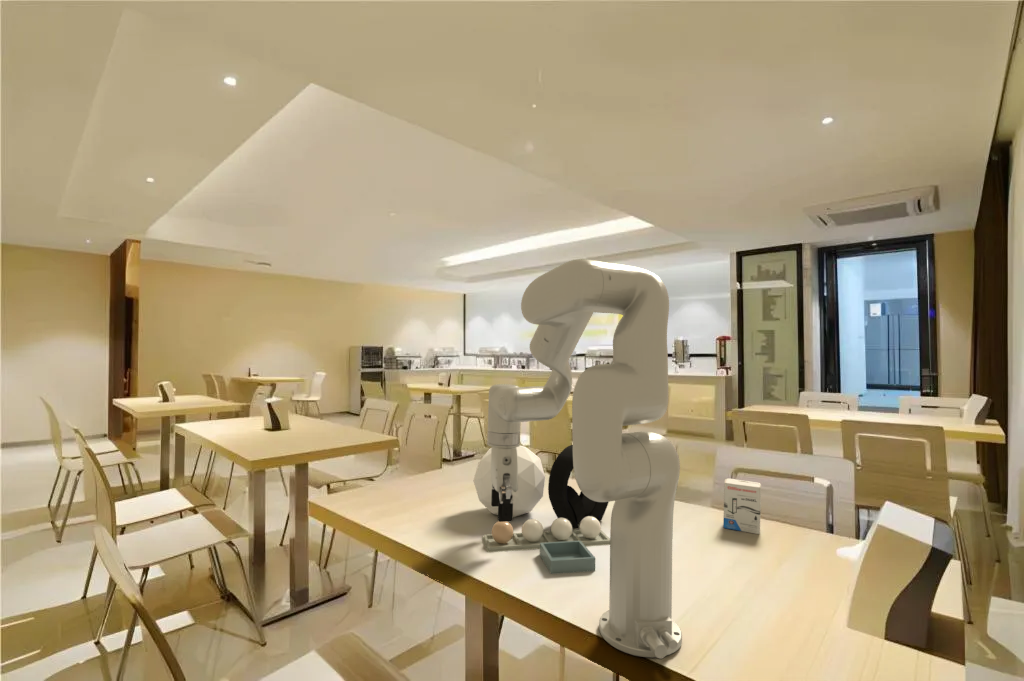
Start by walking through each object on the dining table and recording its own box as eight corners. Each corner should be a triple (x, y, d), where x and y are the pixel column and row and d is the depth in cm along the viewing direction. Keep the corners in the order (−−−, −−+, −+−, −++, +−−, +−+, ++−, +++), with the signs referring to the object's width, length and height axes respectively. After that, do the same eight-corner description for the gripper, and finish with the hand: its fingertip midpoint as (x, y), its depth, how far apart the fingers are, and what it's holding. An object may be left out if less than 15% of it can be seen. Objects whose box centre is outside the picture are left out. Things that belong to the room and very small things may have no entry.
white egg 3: (604, 541, 114) (604, 519, 114) (583, 542, 113) (583, 520, 113) (596, 533, 119) (596, 512, 119) (576, 534, 118) (576, 513, 118)
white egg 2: (575, 543, 112) (575, 521, 112) (554, 544, 111) (554, 522, 111) (568, 535, 117) (568, 514, 117) (548, 536, 116) (548, 515, 116)
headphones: (564, 535, 118) (565, 452, 119) (545, 527, 123) (547, 447, 124) (614, 520, 130) (615, 444, 130) (595, 513, 135) (596, 440, 135)
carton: (613, 546, 112) (613, 541, 112) (487, 554, 106) (487, 548, 106) (599, 532, 121) (599, 527, 121) (481, 538, 115) (482, 533, 115)
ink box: (722, 528, 125) (723, 482, 125) (724, 522, 130) (724, 477, 130) (760, 534, 121) (760, 486, 121) (760, 528, 126) (761, 482, 126)
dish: (595, 573, 98) (595, 558, 98) (550, 576, 97) (551, 560, 97) (580, 554, 107) (580, 540, 107) (539, 556, 106) (539, 542, 106)
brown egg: (515, 546, 110) (515, 524, 110) (493, 548, 109) (493, 525, 109) (511, 538, 115) (511, 516, 115) (489, 539, 114) (490, 517, 114)
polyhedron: (489, 540, 132) (449, 476, 136) (538, 500, 145) (501, 443, 149) (520, 524, 118) (475, 454, 122) (572, 482, 131) (530, 419, 135)
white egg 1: (545, 544, 111) (545, 522, 111) (523, 546, 110) (524, 523, 110) (540, 536, 116) (540, 515, 116) (519, 537, 115) (519, 516, 115)
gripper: (527, 446, 105) (525, 526, 105) (512, 431, 122) (510, 500, 122) (493, 447, 103) (490, 528, 103) (482, 431, 120) (480, 501, 120)
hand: (501, 513), depth 112 cm, fingers open, 9 cm apart
